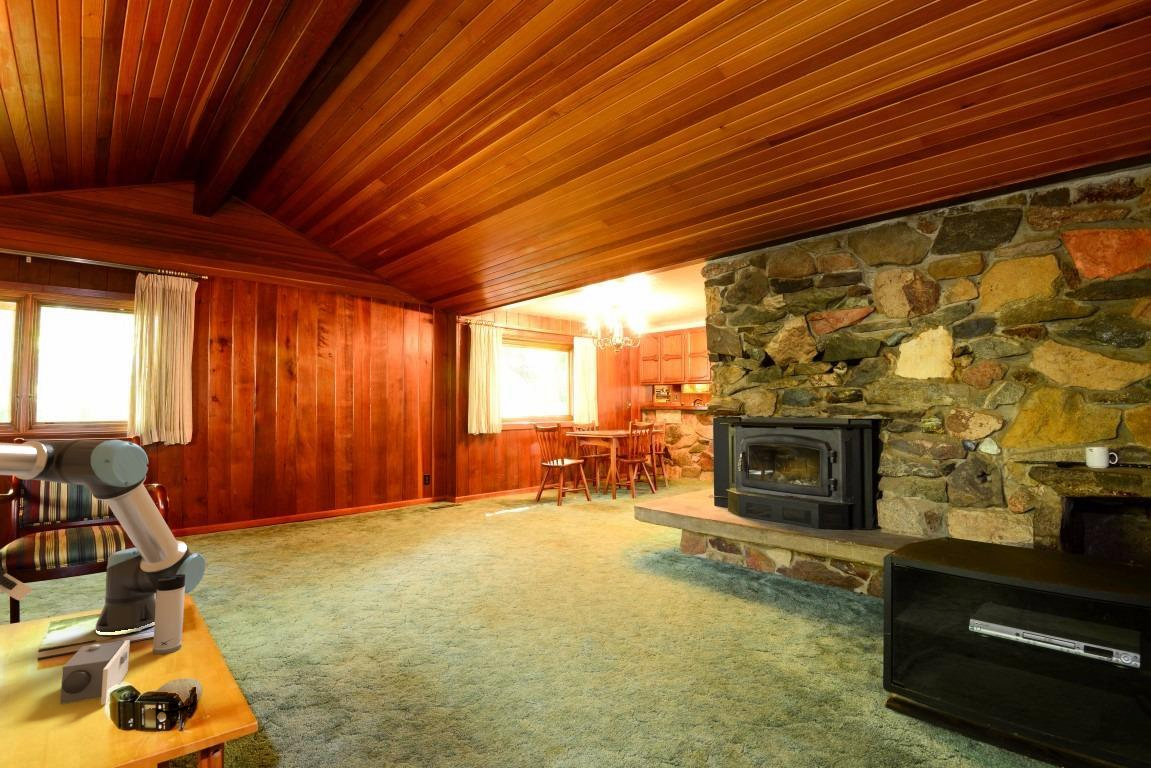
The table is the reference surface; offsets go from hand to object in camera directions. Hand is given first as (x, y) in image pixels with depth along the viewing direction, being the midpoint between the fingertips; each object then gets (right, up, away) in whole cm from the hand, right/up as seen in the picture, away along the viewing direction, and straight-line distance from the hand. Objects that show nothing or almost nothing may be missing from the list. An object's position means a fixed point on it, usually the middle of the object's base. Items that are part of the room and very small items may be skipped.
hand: (24, 594), depth 115 cm
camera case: (+4, -27, +12) cm, 30 cm away
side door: (+9, -27, +12) cm, 31 cm away
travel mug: (+5, -28, +33) cm, 44 cm away
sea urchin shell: (+28, -27, +7) cm, 40 cm away
